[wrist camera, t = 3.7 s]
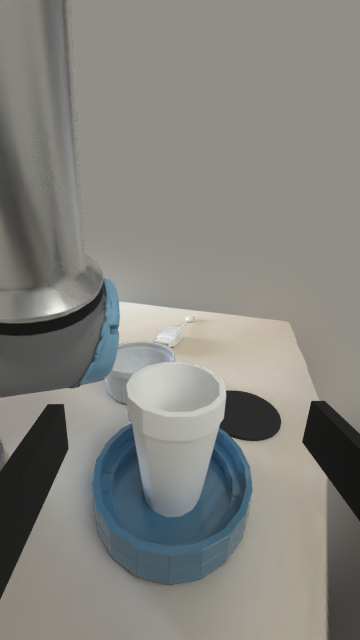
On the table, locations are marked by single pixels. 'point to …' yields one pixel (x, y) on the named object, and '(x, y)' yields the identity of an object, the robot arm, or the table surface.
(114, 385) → the ramekin
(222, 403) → the foam cup
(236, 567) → the table surface
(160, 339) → the charging cable
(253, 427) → the mat
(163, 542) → the bowl
